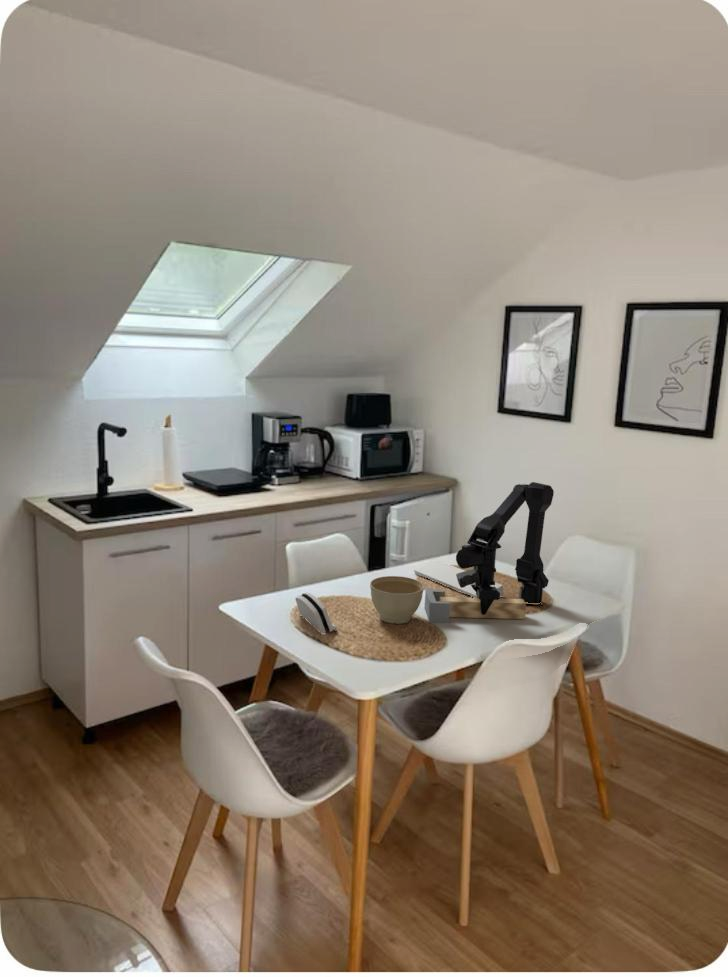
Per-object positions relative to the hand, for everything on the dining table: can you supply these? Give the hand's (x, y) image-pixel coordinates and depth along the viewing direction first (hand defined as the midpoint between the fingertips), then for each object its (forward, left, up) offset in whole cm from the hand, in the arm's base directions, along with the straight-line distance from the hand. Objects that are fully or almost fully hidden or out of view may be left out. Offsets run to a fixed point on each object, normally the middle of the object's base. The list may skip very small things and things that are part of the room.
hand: (481, 611), depth 232 cm
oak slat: (0, 0, -1) cm, 1 cm away
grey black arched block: (+51, +10, -2) cm, 52 cm away
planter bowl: (+27, +4, -2) cm, 27 cm away
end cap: (+14, 0, -1) cm, 14 cm away
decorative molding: (+3, -29, -2) cm, 30 cm away
